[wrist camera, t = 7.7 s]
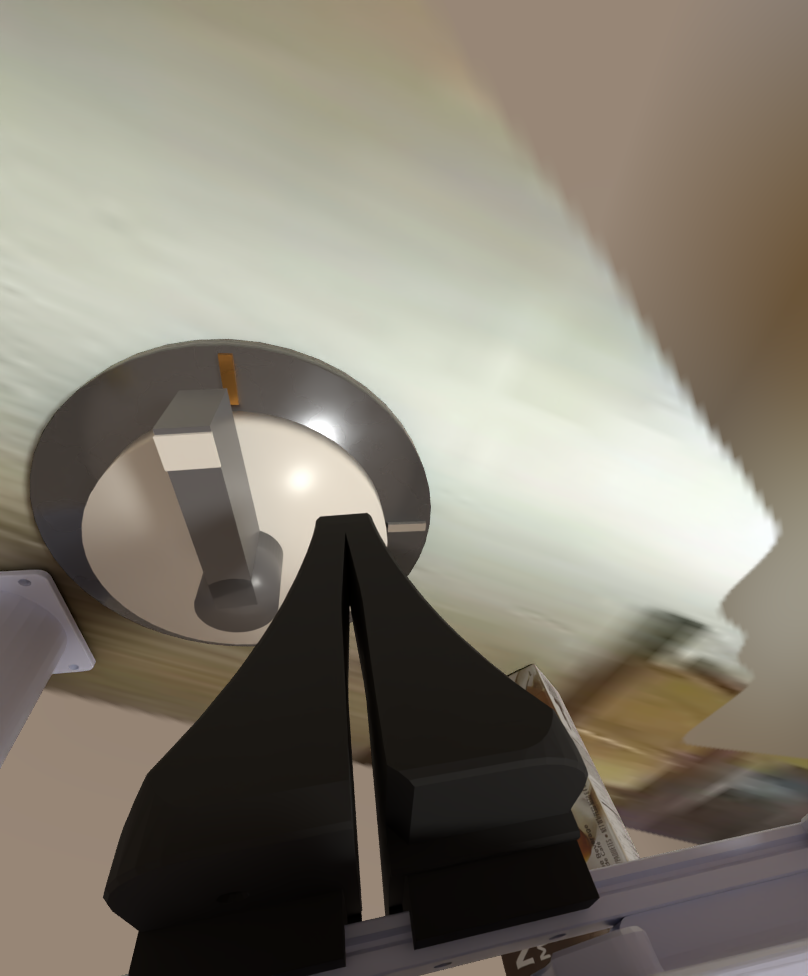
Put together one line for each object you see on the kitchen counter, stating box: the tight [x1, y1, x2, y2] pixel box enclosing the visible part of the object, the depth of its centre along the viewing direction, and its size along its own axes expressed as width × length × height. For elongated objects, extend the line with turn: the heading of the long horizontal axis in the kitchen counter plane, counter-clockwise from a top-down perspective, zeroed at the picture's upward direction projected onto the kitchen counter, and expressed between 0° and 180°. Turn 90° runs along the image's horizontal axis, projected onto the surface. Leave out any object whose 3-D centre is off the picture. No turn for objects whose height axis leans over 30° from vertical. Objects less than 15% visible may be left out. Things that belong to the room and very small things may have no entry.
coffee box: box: [501, 664, 640, 976], centre depth 30 cm, size 9×6×16 cm
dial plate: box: [30, 339, 431, 646], centre depth 21 cm, size 18×18×1 cm
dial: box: [82, 388, 387, 644], centre depth 19 cm, size 14×13×5 cm
